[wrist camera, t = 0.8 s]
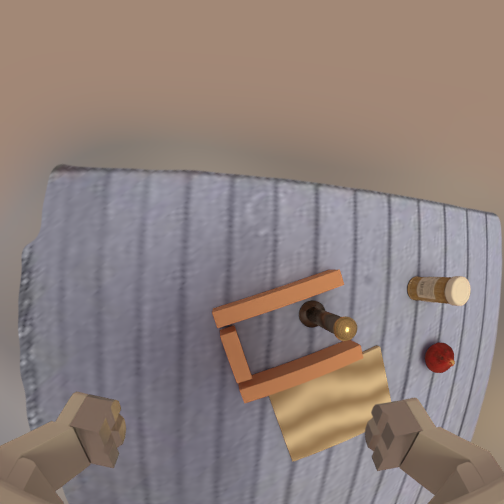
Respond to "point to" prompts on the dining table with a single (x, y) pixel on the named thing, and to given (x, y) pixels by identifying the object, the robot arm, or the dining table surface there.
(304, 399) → the tray
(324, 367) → the c link
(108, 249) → the dining table surface
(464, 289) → the sprinkles bottle
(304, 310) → the post stand
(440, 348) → the onion
